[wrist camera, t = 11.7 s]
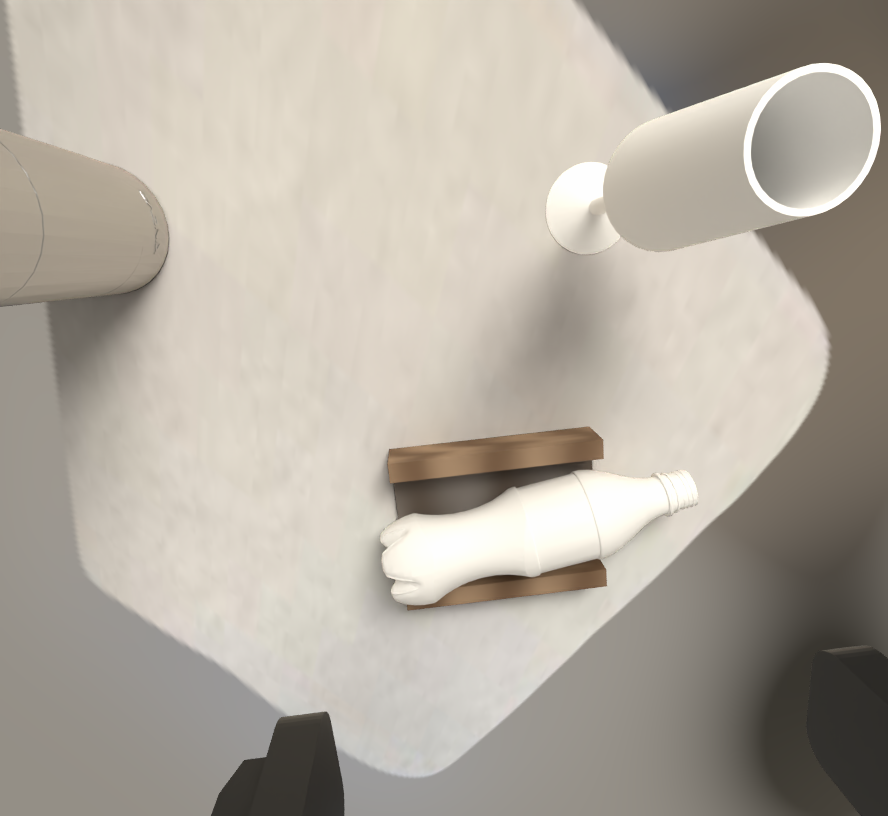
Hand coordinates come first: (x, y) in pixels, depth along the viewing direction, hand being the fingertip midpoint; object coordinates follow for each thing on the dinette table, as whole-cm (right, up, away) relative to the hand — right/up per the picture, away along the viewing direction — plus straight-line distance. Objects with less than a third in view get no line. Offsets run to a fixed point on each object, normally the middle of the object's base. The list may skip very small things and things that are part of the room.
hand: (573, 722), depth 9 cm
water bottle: (-7, -8, +35) cm, 36 cm away
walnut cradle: (+2, -4, +39) cm, 39 cm away
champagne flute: (+9, +20, +33) cm, 40 cm away
